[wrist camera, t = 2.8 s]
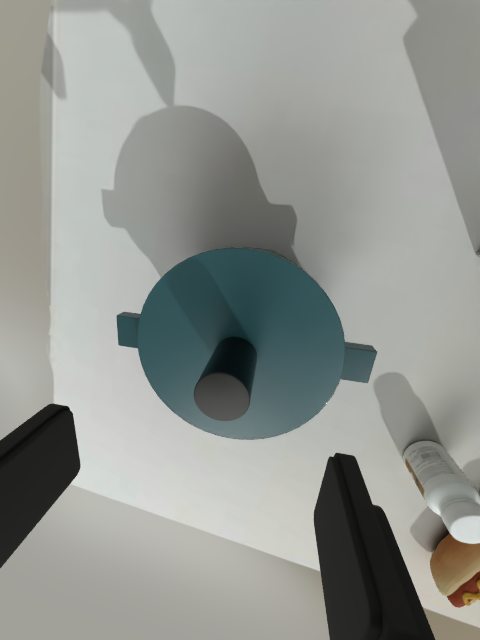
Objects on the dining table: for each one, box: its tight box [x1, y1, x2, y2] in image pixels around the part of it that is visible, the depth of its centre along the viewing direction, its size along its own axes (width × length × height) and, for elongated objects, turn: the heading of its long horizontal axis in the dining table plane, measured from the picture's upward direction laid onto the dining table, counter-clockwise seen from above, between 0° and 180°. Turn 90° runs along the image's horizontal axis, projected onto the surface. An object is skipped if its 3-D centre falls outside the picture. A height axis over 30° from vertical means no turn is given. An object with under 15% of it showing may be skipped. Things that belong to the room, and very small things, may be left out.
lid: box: [137, 248, 345, 440], centre depth 15 cm, size 14×14×6 cm
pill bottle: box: [403, 441, 480, 544], centre depth 25 cm, size 4×4×8 cm
